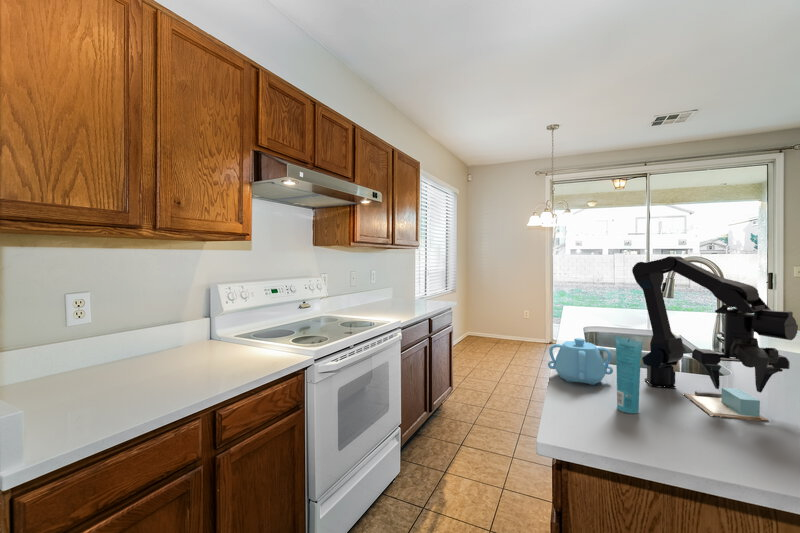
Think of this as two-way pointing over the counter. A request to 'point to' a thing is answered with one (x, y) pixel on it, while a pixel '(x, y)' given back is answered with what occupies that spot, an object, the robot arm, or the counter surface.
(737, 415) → the clipboard
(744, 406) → the light blue block
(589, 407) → the counter surface
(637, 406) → the tube
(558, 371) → the decorative pot
